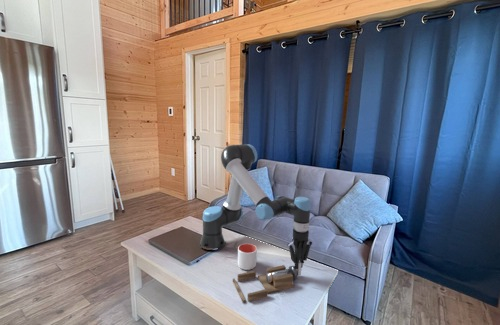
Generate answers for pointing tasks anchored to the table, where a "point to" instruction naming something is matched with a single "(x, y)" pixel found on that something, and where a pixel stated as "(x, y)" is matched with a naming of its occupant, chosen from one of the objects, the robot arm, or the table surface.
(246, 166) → the robot arm
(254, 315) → the table surface
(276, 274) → the shaft
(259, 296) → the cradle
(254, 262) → the cup
